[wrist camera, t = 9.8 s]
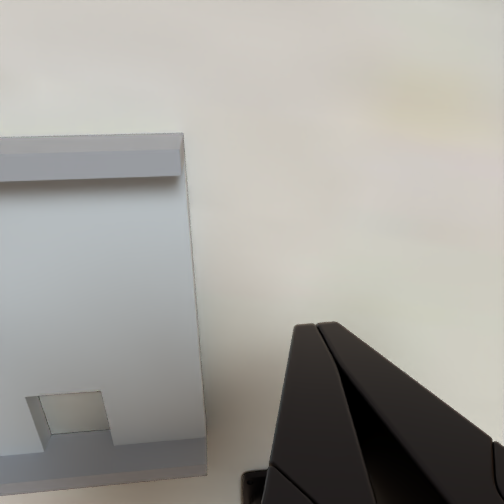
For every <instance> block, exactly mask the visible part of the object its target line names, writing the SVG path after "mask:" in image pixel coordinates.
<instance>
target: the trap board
mask: <svg viewBox="0 0 504 504" xmlns="http://www.w3.org/2000/svg"><path fill="white" fill-rule="evenodd" d="M93 391H101V393H102V398H103V402H104V406H105V410H106V415H107V419H108V423H109V427H110V430H100V431H88V432H77V433H65V434H54V435H51V433H50V430H49V427H48V424H47V421H46V418H45V415H44V412H43V409H42V406H41V403H40V400H39V397H38V396H43V395H56V394H68V393H81V392H93ZM206 475H207V428H206V416H205V403H204V391H203V378H202V365H201V353H200V340H199V327H198V315H197V302H196V289H195V277H194V264H193V252H192V239H191V226H190V214H189V201H188V188H187V176H186V163H185V150H184V138H183V133H163V134H121V135H80V136H38V137H0V496H5V495H15V494H25V493H35V492H45V491H55V490H65V489H75V488H85V487H95V486H105V485H115V484H125V483H135V482H145V481H155V480H165V479H175V478H185V477H195V476H206Z"/></svg>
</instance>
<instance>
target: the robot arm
mask: <svg viewBox="0 0 504 504" xmlns="http://www.w3.org/2000/svg"><path fill="white" fill-rule="evenodd" d="M243 504H504V446H502V445H501V444H500V443H498V442H497V441H494V442H493V441H492V438H491V437H490V436H489V435H487V434H486V433H485V432H483V431H482V430H481V429H479V428H478V427H477V426H475V425H474V424H473V423H471V422H470V421H469V420H467V419H466V418H465V417H463V416H462V415H461V414H459V413H458V412H457V411H455V410H454V409H453V408H451V407H450V406H449V405H447V404H446V403H445V402H443V401H442V400H441V399H439V398H438V397H437V396H435V395H434V394H433V393H431V392H430V391H429V390H427V389H426V388H425V387H423V386H422V385H421V384H419V383H418V382H417V381H415V380H414V379H413V378H411V377H410V376H409V375H407V374H406V373H405V372H403V371H402V370H401V369H399V368H398V367H397V366H395V365H394V364H393V363H391V362H390V361H389V360H387V359H386V358H385V357H383V356H382V355H381V354H379V353H378V352H377V351H375V350H374V349H373V348H371V347H370V346H369V345H367V344H366V343H365V342H363V341H362V340H361V339H359V338H358V337H357V336H355V335H354V334H353V333H351V332H350V331H349V330H347V329H346V328H345V327H343V326H342V325H341V324H339V323H338V322H322V323H318V324H316V325H315V324H313V323H310V324H298V325H295V326H294V329H293V335H292V340H291V346H290V351H289V357H288V362H287V368H286V373H285V379H284V384H283V390H282V395H281V401H280V406H279V412H278V417H277V423H276V428H275V434H274V439H273V444H272V450H271V455H270V461H269V468H268V470H267V471H259V472H249V473H246V474H244V475H243Z"/></svg>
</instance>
